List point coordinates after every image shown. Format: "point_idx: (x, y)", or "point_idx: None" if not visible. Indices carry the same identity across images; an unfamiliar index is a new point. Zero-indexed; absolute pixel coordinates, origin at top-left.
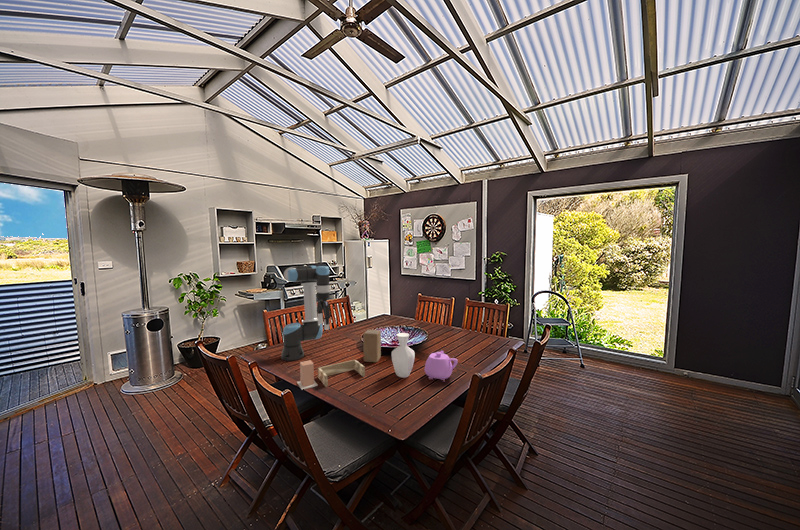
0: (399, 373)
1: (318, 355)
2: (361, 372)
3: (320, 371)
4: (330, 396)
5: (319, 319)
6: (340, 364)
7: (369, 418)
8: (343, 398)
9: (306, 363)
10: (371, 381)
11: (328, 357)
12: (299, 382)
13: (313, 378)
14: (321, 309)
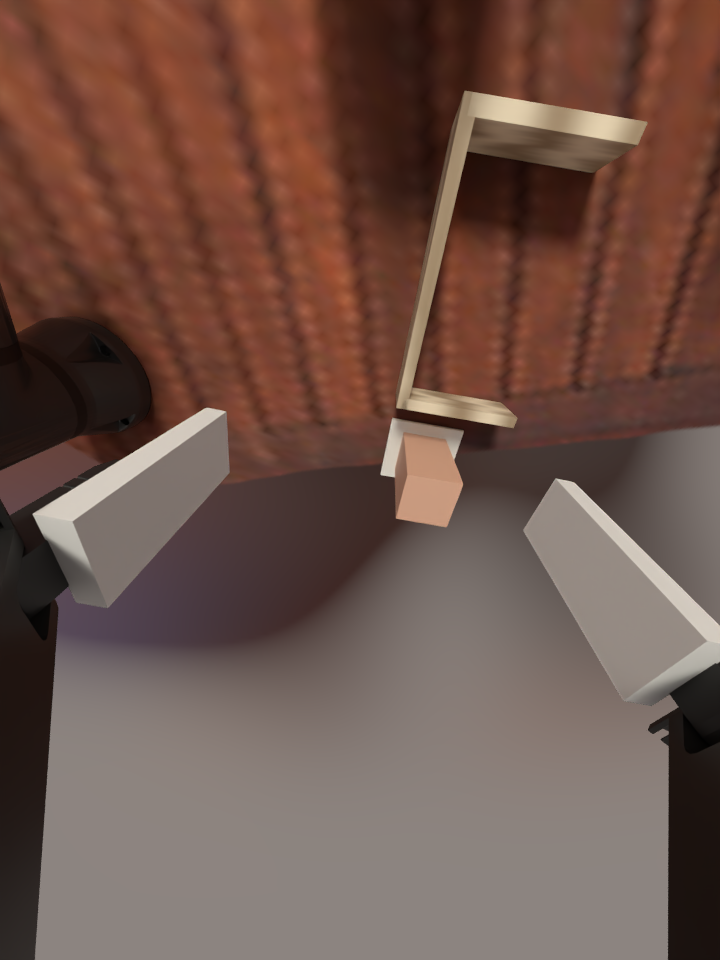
0: None
1: (116, 243)
2: (580, 161)
3: (438, 414)
4: (577, 435)
5: (189, 498)
6: (439, 265)
7: None
8: (641, 407)
9: (434, 505)
10: (688, 165)
11: (174, 199)
12: (391, 471)
13: (449, 450)
14: (4, 753)
